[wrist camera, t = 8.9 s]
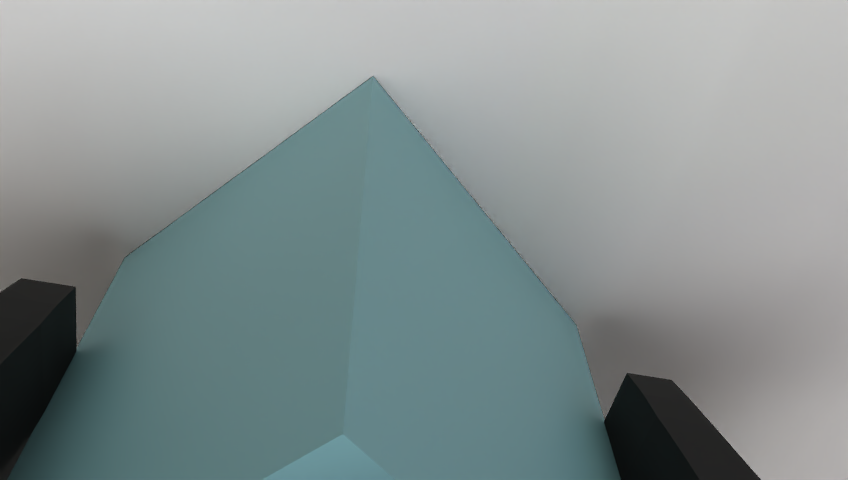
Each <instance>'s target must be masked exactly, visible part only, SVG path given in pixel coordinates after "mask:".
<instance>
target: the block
mask: <svg viewBox="0 0 848 480" xmlns="http://www.w3.org/2000/svg"><path fill="white" fill-rule="evenodd" d="M76 350H77V351H76V353H75V355H74V357H73V359H72V361H71V363H70V365H69V367H68V368H67V370H66V372H65V374H64V376H63V378H62V380H61V382H60V384H59V385H58V387H57V389H56V391H55V393H54V395H53V397H52V399H51V401H50V403H49V404H48V406H47V408H46V410H45V412H44V414H43V415H42V417H41V419H40V420H39V422H38V424H37V425H36V427H35V429H34V430H33V432H32V434H31V436H30V438H29V439H28V441H27V443H26V445H25V447H24V449H23V451H22V453H21V455H20V456H19V458H18V460H17V462H16V464H15V466H14V468H13V470H12V472H11V473H10V475H9V477H8V479H7V480H621V478H620V475H619V471H618V468H617V465H616V461H615V458H614V454H613V451H612V448H611V444H610V441H609V437H608V434H607V431H606V427H605V424H604V421H605V420H604V417H603V414H602V410H601V407H600V403H599V400H598V397H597V393H596V390H595V387H594V383H593V380H592V376H591V373H590V370H589V366H588V363H587V360H586V356H585V353H584V349H583V346H582V343H581V339H580V336H579V332H578V329H577V326H576V324H575V323H574V322H573V321H572V319H571V318H570V317H569V316H568V314H567V313H566V312H565V311H564V310H563V308H562V307H561V306H560V305H559V303H558V302H557V301H556V300H555V299H554V297H553V296H552V295H551V294H550V292H549V291H548V290H547V289H546V287H545V286H544V285H543V284H542V283H541V281H540V280H539V279H538V278H537V276H536V275H535V274H534V273H533V272H532V270H531V269H530V268H529V267H528V265H527V264H526V263H525V262H524V261H523V259H522V258H521V257H520V256H519V254H518V253H517V252H516V251H515V250H514V248H513V247H512V246H511V245H510V243H509V242H508V241H507V240H506V238H505V237H504V236H503V235H502V234H501V232H500V231H499V230H498V229H497V227H496V226H495V225H494V224H493V223H492V221H491V220H490V219H489V218H488V216H487V215H486V214H485V213H484V212H483V210H482V209H481V208H480V207H479V205H478V204H477V203H476V202H475V201H474V199H473V198H472V197H471V196H470V194H469V193H468V192H467V191H466V189H465V188H464V187H463V186H462V185H461V183H460V182H459V181H458V180H457V178H456V177H455V176H454V175H453V174H452V172H451V171H450V170H449V169H448V167H447V166H446V165H445V164H444V163H443V161H442V160H441V159H440V158H439V156H438V155H437V154H436V153H435V152H434V150H433V149H432V148H431V147H430V145H429V144H428V143H427V142H426V140H425V139H424V138H423V137H422V136H421V134H420V133H419V132H418V131H417V129H416V128H415V127H414V126H413V125H412V123H411V122H410V121H409V120H408V118H407V117H406V116H405V115H404V114H403V112H402V111H401V110H400V109H399V107H398V106H397V105H396V104H395V103H394V101H393V100H392V99H391V98H390V96H389V95H388V94H387V93H386V92H385V90H384V89H383V88H382V87H381V85H380V84H379V83H378V82H377V80H376V79H375V78H374V77H371V78H370V79H369V80H367V81H366V82H364V83H363V84H362V85H360V86H359V87H358V88H356V89H355V90H353V91H352V92H351V93H349V94H348V95H347V96H345V97H344V98H343V99H341V100H340V101H338V102H337V103H336V104H334V105H333V106H332V107H330V108H329V109H328V110H326V111H325V112H323V113H322V114H321V115H319V116H318V117H317V118H315V119H314V120H312V121H311V122H310V123H308V124H307V125H306V126H304V127H303V128H302V129H300V130H299V131H297V132H296V133H295V134H293V135H292V136H291V137H289V138H288V139H286V140H285V141H284V142H282V143H281V144H280V145H278V146H277V147H276V148H274V149H273V150H271V151H270V152H269V153H267V154H266V155H265V156H263V157H262V158H260V159H259V160H258V161H256V162H255V163H254V164H252V165H251V166H250V167H248V168H247V169H245V170H244V171H243V172H241V173H240V174H239V175H237V176H236V177H235V178H233V179H232V180H230V181H229V182H228V183H226V184H225V185H224V186H222V187H221V188H219V189H218V190H217V191H215V192H214V193H213V194H211V195H210V196H209V197H207V198H206V199H204V200H203V201H202V202H200V203H199V204H198V205H196V206H195V207H193V208H192V209H191V210H189V211H188V212H187V213H185V214H184V215H183V216H181V217H180V218H178V219H177V220H176V221H174V222H173V223H172V224H170V225H169V226H167V227H166V228H165V229H163V230H162V231H161V232H159V233H158V234H157V235H155V236H154V237H152V238H151V239H150V240H148V241H147V242H146V243H144V244H143V245H142V246H140V247H139V248H137V249H136V250H135V251H133V252H132V253H131V254H129V255H128V256H126V257H125V258H124V260H123V262H122V264H121V266H120V268H119V270H118V271H117V273H116V275H115V277H114V279H113V281H112V283H111V285H110V287H109V288H108V290H107V292H106V294H105V296H104V298H103V300H102V302H101V304H100V305H99V307H98V309H97V311H96V313H95V315H94V317H93V319H92V321H91V322H90V324H89V326H88V328H87V330H86V332H85V334H84V336H83V338H82V339H81V341H80V343H79V345H78V347H77V349H76Z"/></svg>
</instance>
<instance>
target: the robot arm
mask: <svg viewBox="0 0 848 480" xmlns="http://www.w3.org/2000/svg"><path fill="white" fill-rule="evenodd" d="M76 351H77V350H76V288H75V287H73V286H67V285H60V284H54V283H47V282H41V281H35V280H28V279H22V278H21V279H20V280H18V281H17V282H15V283H14V284H12V285H11V286H9V287H8V288H6V289H5V290H3V291H2V292H0V480H7V479H8V477H9V475H10V473H11V472H12V470H13V468H14V466H15V464H16V462H17V460H18V458H19V456H20V455H21V453H22V451H23V449H24V447H25V445H26V443H27V441H28V439H29V438H30V436H31V434H32V432H33V430H34V429H35V427H36V425H37V424H38V422H39V420H40V419H41V417H42V415H43V414H44V412H45V410H46V408H47V406H48V404H49V403H50V401H51V399H52V397H53V395H54V393H55V391H56V389H57V387H58V385H59V384H60V382H61V380H62V378H63V376H64V374H65V372H66V370H67V368H68V367H69V365H70V363H71V361H72V359H73V357H74V355H75V353H76ZM604 424H605V427H606V431H607V434H608V437H609V441H610V444H611V448H612V451H613V454H614V458H615V461H616V465H617V468H618V471H619V475H620V478H621V480H761V479H760V478H759V477H758V476H757V475H756V474H755V473H754V471H753V470H752V469H751V468H750V467H749V466H748V465H747V464H746V462H745V461H744V460H743V459H742V458H741V457H740V456H739V454H738V453H737V452H736V451H735V450H734V449H733V448H732V446H731V445H730V444H729V443H728V442H727V441H726V440H725V438H724V437H723V436H722V435H721V434H720V433H719V432H718V430H717V429H716V428H715V427H714V426H713V425H712V424H711V422H710V421H709V420H708V419H707V418H706V417H705V416H704V415H703V413H702V412H701V411H700V410H699V409H698V408H697V407H696V406H695V405H694V403H693V402H692V401H691V400H690V399H689V398H688V397H687V396H686V395H685V394H684V393H683V391H682V390H681V389H680V388H679V387H678V386H677V385H676V384H675V383H674V382H673V381H672V380H668V379H661V378H655V377H649V376H642V375H636V374H629V373H627V374H626V376H625V379H624V381H623V383H622V385H621V387H620V389H619V391H618V393H617V395H616V398H615V400H614V402H613V404H612V406H611V408H610V410H609V412H608V414H607V416H606V419H605V421H604Z"/></svg>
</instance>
